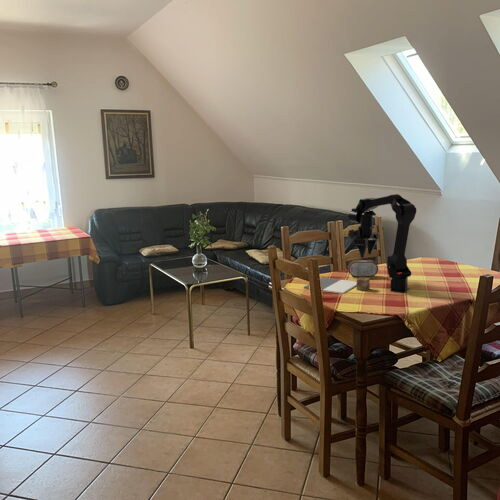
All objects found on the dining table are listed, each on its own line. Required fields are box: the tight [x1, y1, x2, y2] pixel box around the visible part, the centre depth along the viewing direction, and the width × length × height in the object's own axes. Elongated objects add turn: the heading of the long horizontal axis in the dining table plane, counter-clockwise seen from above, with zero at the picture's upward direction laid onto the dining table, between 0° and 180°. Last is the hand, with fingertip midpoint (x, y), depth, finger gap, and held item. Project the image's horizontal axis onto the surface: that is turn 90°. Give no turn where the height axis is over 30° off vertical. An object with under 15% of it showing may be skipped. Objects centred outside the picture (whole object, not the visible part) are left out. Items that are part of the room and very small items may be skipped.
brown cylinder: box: [356, 277, 371, 292], centre depth 230 cm, size 4×4×5 cm
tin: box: [347, 259, 379, 278], centre depth 252 cm, size 15×3×8 cm, turn 84°
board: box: [303, 277, 357, 295], centre depth 238 cm, size 20×20×1 cm
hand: (366, 255), depth 244 cm, fingers open, 9 cm apart
